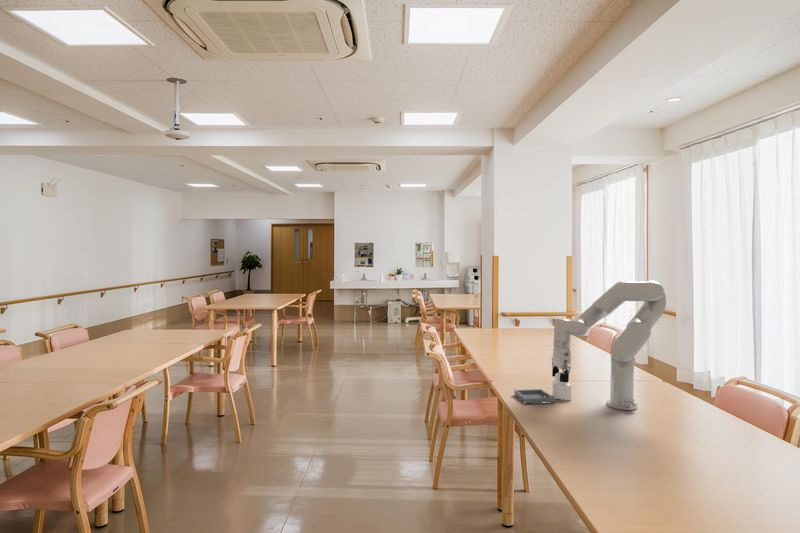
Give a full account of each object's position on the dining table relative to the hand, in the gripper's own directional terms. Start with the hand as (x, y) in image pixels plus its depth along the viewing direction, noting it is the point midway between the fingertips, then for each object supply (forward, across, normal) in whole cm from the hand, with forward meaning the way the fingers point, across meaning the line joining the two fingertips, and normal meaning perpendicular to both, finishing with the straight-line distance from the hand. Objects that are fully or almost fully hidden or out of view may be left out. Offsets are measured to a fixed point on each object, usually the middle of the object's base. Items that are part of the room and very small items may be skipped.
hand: (560, 379), depth 218 cm
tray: (+10, -1, +13) cm, 16 cm away
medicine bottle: (+9, -1, -1) cm, 9 cm away
